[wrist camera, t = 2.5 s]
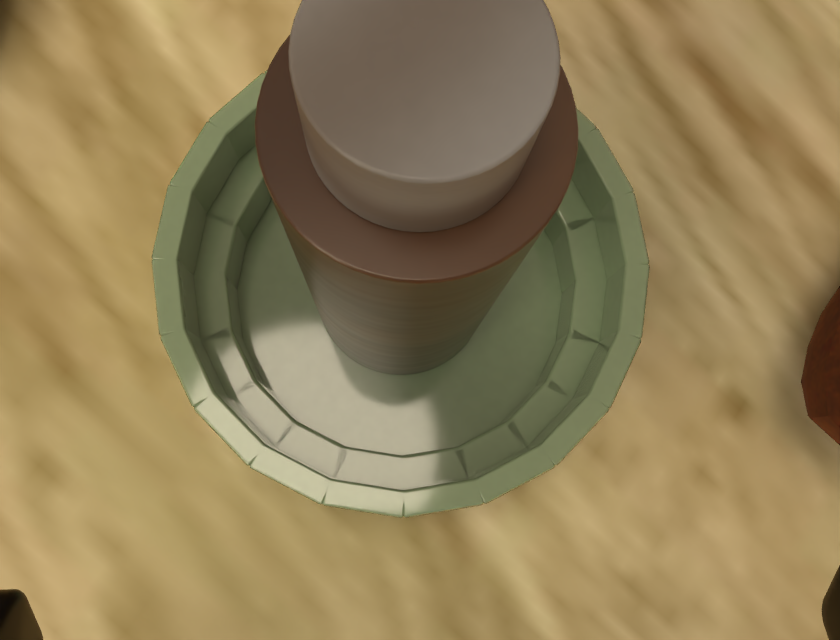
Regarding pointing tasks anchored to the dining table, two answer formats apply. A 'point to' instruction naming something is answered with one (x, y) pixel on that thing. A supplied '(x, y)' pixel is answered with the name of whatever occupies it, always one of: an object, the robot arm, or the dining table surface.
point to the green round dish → (380, 392)
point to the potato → (824, 371)
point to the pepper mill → (414, 163)
